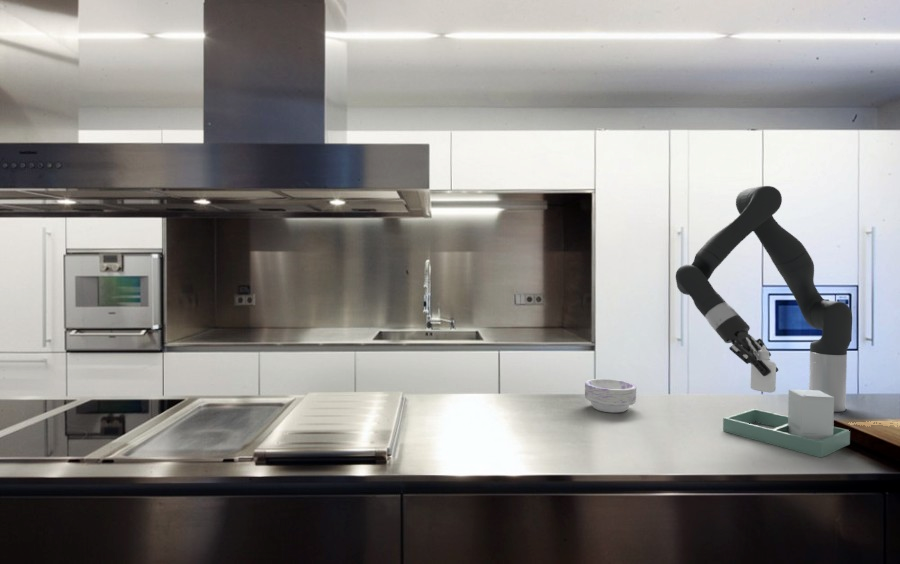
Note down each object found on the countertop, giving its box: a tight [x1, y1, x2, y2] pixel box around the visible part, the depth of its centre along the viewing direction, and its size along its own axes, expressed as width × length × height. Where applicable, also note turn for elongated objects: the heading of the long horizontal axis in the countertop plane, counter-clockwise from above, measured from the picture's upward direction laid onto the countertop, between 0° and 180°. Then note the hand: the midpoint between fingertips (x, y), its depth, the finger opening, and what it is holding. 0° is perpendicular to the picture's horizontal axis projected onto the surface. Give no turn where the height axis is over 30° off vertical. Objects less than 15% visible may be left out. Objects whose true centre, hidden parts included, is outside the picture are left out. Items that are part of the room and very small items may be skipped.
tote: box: [722, 408, 851, 458], centre depth 134 cm, size 16×23×4 cm
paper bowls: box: [584, 378, 637, 414], centre depth 161 cm, size 15×15×8 cm
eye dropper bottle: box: [750, 345, 777, 394], centre depth 138 cm, size 4×6×12 cm
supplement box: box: [787, 389, 835, 441], centre depth 129 cm, size 7×7×13 cm
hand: (771, 373), depth 136 cm, fingers closed on eye dropper bottle, 3 cm apart
